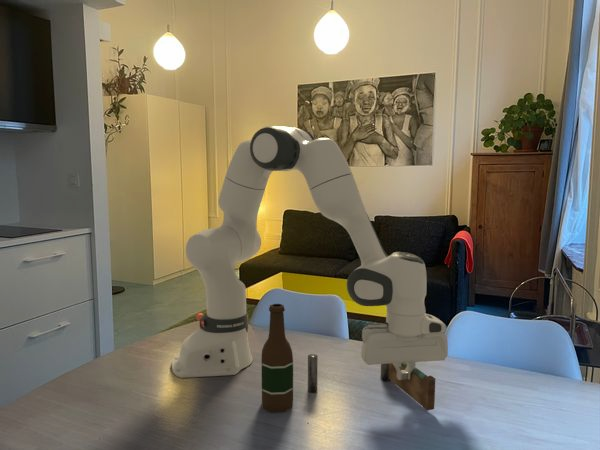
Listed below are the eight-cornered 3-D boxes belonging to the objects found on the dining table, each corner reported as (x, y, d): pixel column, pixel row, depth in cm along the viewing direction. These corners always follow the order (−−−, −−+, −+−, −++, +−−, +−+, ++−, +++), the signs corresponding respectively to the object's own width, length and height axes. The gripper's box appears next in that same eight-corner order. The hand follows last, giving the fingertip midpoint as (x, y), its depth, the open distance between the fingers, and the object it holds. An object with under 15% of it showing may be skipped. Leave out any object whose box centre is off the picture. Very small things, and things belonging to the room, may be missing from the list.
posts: (389, 375, 123) (390, 339, 121) (395, 380, 120) (396, 343, 118) (305, 388, 115) (305, 350, 114) (310, 394, 112) (310, 355, 111)
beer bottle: (268, 416, 102) (267, 312, 99) (255, 401, 109) (254, 303, 106) (299, 408, 105) (299, 307, 103) (285, 394, 112) (284, 298, 109)
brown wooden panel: (387, 378, 118) (388, 351, 117) (394, 377, 119) (395, 350, 118) (426, 410, 102) (427, 379, 101) (434, 409, 103) (435, 378, 102)
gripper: (366, 328, 102) (364, 387, 104) (452, 325, 105) (449, 382, 107) (358, 319, 108) (357, 375, 110) (440, 316, 111) (437, 370, 113)
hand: (403, 378), depth 108 cm, fingers closed
